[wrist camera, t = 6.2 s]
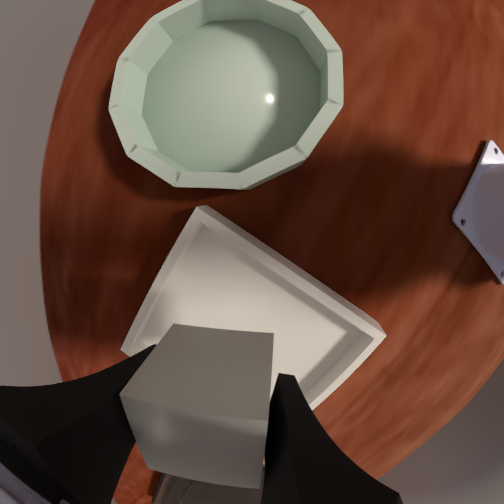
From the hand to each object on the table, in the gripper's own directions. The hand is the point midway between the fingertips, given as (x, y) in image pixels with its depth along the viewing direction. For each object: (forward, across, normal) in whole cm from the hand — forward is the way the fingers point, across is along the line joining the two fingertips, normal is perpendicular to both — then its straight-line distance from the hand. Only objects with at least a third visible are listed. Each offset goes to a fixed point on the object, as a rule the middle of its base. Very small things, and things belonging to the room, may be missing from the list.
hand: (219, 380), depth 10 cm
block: (+1, 0, 0) cm, 1 cm away
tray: (+8, -1, +2) cm, 9 cm away
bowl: (+8, +3, -13) cm, 16 cm away
